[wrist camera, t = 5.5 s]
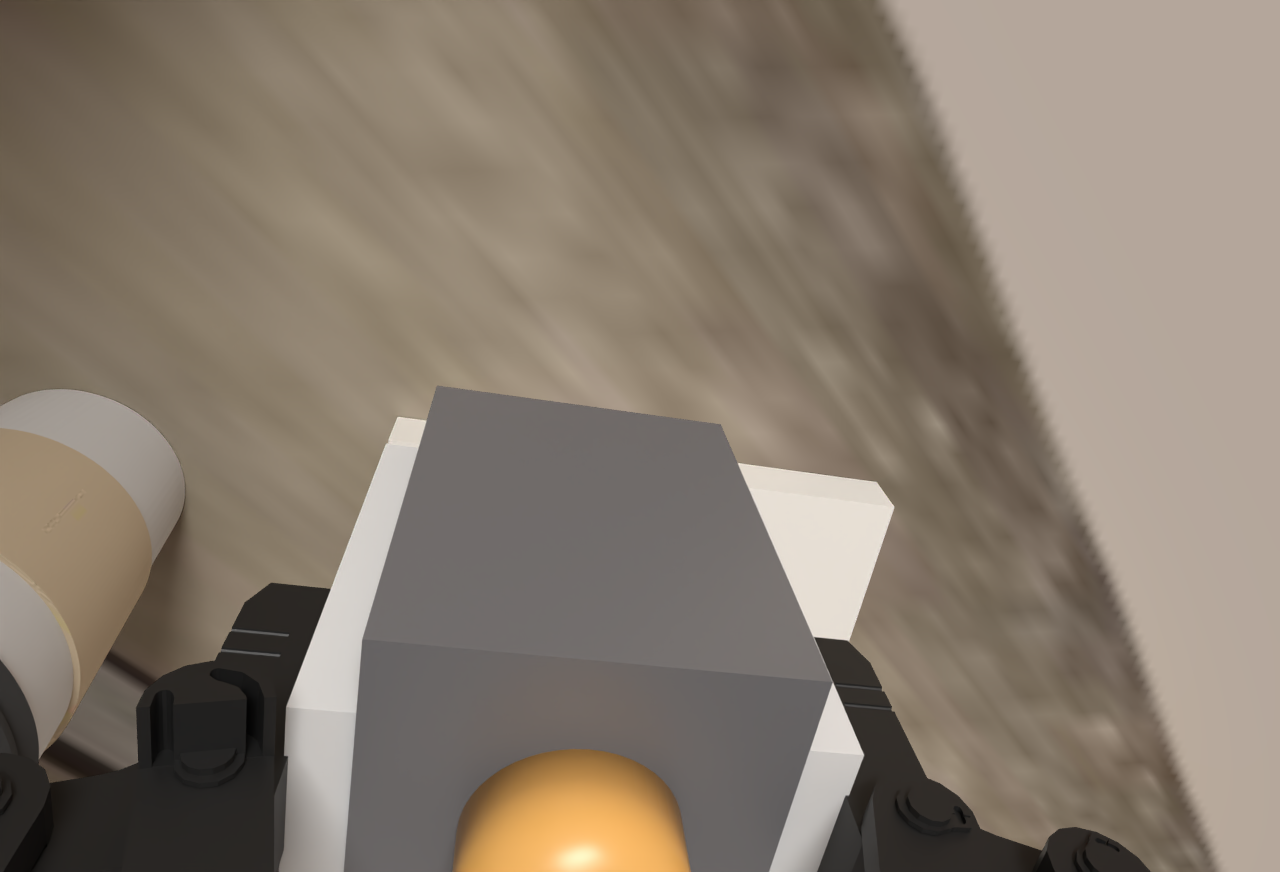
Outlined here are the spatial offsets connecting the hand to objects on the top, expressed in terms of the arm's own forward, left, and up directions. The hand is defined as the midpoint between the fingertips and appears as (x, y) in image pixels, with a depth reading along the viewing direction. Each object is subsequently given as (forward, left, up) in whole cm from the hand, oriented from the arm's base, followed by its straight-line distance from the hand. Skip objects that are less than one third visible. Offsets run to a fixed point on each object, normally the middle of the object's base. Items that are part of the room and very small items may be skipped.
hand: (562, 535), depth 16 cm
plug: (0, 0, 0) cm, 0 cm away
